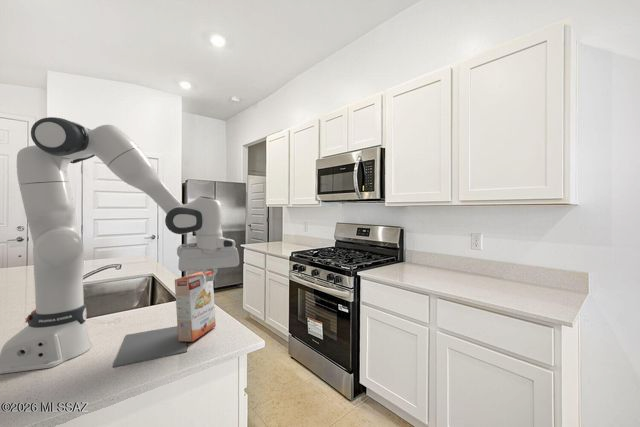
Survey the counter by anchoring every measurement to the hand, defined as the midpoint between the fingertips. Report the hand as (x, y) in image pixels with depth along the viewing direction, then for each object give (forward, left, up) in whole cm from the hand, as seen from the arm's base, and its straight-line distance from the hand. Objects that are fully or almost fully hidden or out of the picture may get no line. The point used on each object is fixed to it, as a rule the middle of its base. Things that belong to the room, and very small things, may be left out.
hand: (209, 280), depth 102 cm
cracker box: (-4, 0, -19) cm, 19 cm away
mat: (-18, 0, -19) cm, 26 cm away
